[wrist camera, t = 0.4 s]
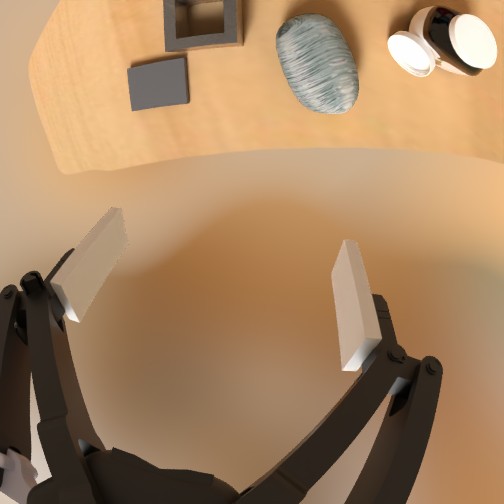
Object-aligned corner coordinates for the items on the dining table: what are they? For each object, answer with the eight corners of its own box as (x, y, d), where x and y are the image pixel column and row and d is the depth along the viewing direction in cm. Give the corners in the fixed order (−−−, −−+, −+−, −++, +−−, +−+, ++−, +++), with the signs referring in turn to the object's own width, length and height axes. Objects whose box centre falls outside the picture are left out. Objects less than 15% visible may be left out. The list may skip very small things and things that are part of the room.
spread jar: (463, 42, 22) (510, 46, 13) (441, 97, 29) (486, 113, 20) (399, -3, 21) (437, -19, 12) (375, 54, 28) (410, 52, 18)
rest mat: (130, 68, 32) (127, 68, 31) (186, 57, 31) (183, 57, 30) (134, 110, 36) (131, 111, 35) (189, 102, 35) (187, 103, 34)
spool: (249, 23, 25) (294, 18, 18) (312, 10, 26) (365, 10, 19) (277, 112, 35) (321, 135, 28) (330, 93, 36) (378, 111, 29)
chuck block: (177, -1, 25) (163, -8, 21) (241, -10, 24) (235, -20, 20) (179, 52, 30) (165, 51, 26) (243, 45, 29) (237, 42, 26)
